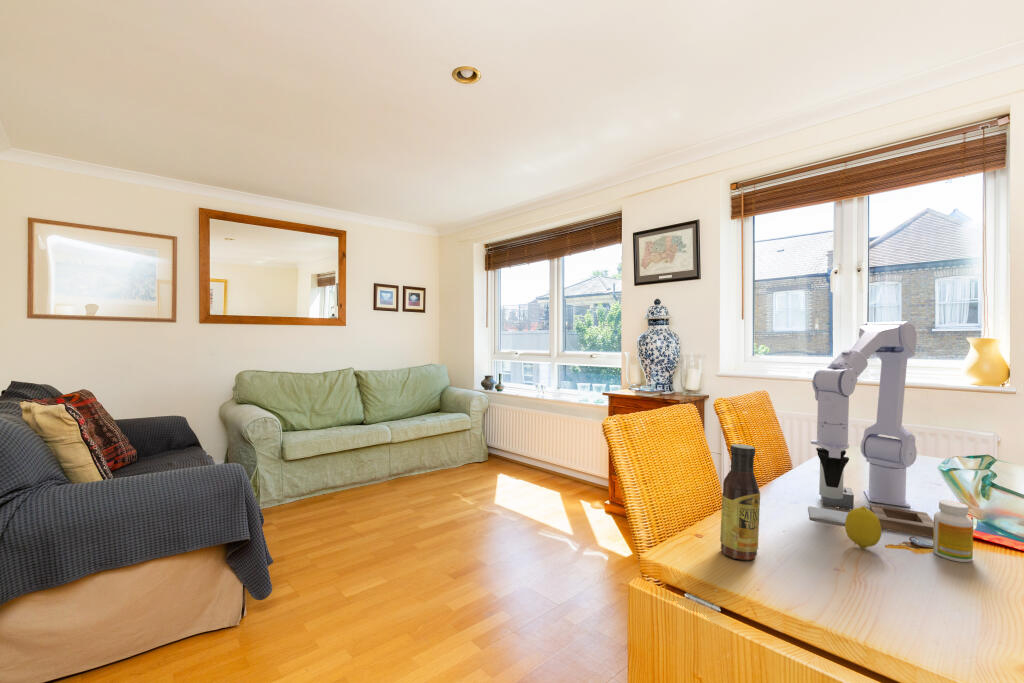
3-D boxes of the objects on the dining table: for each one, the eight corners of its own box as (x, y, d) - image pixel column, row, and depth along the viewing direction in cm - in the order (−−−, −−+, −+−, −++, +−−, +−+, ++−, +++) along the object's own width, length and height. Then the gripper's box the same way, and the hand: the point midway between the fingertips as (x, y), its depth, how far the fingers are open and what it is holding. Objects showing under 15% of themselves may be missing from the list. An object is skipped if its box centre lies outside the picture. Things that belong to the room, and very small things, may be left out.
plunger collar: (821, 498, 119) (821, 484, 119) (850, 502, 116) (850, 488, 116) (822, 505, 114) (823, 490, 114) (853, 510, 111) (853, 495, 111)
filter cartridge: (818, 491, 110) (819, 456, 110) (841, 494, 108) (842, 458, 107) (819, 496, 106) (820, 460, 106) (844, 500, 104) (844, 463, 104)
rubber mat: (808, 508, 112) (808, 506, 112) (850, 515, 108) (850, 512, 108) (810, 519, 105) (810, 517, 105) (854, 527, 101) (854, 524, 101)
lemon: (874, 545, 93) (875, 503, 93) (885, 557, 87) (886, 513, 87) (840, 540, 94) (841, 500, 94) (850, 552, 89) (851, 509, 89)
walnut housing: (869, 512, 110) (869, 504, 110) (926, 521, 105) (926, 512, 105) (876, 527, 101) (876, 518, 101) (938, 538, 96) (939, 528, 96)
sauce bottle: (742, 565, 84) (744, 451, 83) (712, 550, 89) (714, 444, 89) (766, 557, 87) (768, 448, 86) (736, 544, 92) (738, 441, 92)
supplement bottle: (980, 564, 85) (982, 510, 85) (945, 561, 86) (946, 507, 86) (958, 551, 90) (960, 499, 90) (925, 548, 92) (927, 497, 91)
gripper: (809, 416, 115) (808, 473, 115) (812, 425, 102) (811, 489, 102) (845, 419, 111) (844, 477, 111) (853, 429, 99) (851, 495, 99)
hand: (831, 483), depth 107 cm, fingers closed on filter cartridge, 4 cm apart
